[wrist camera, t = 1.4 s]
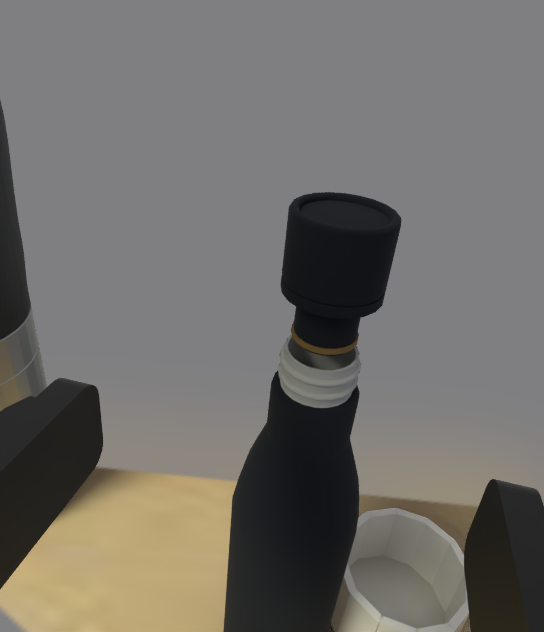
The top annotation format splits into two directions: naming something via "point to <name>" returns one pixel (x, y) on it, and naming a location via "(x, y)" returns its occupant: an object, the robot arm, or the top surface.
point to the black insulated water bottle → (309, 422)
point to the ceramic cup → (401, 577)
